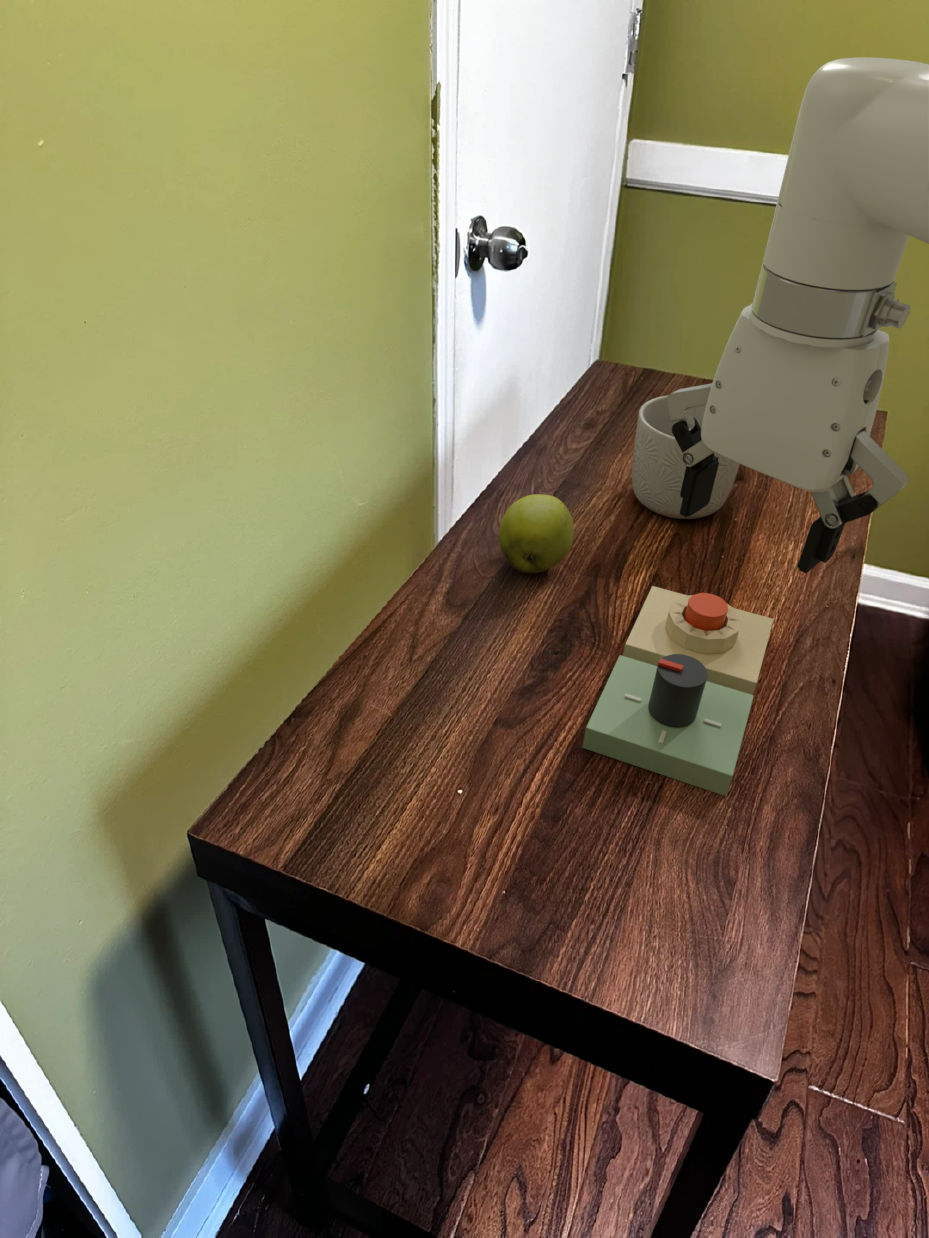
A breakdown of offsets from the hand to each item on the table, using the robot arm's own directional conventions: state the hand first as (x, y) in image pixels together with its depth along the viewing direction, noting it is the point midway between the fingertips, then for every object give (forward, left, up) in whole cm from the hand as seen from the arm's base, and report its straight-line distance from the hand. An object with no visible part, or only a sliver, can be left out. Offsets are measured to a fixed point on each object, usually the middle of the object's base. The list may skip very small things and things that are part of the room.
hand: (750, 535), depth 63 cm
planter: (+10, -35, -19) cm, 41 cm away
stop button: (+2, -9, -15) cm, 18 cm away
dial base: (+2, +3, -19) cm, 19 cm away
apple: (+21, -15, -19) cm, 32 cm away
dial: (+2, +3, -17) cm, 17 cm away
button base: (+2, -9, -19) cm, 21 cm away
